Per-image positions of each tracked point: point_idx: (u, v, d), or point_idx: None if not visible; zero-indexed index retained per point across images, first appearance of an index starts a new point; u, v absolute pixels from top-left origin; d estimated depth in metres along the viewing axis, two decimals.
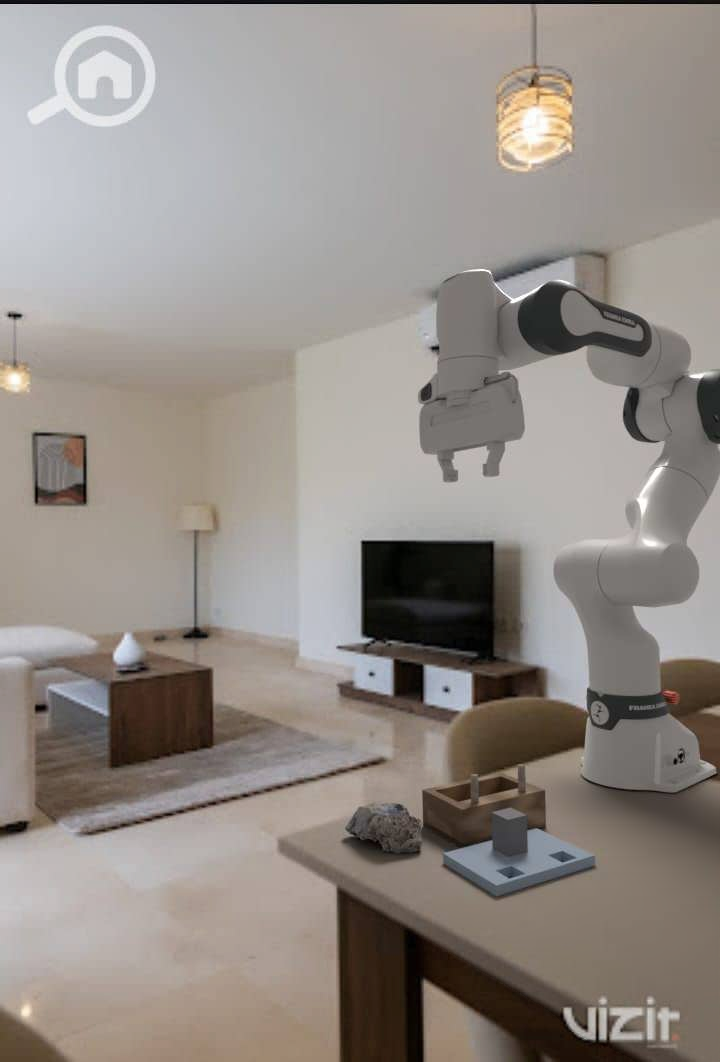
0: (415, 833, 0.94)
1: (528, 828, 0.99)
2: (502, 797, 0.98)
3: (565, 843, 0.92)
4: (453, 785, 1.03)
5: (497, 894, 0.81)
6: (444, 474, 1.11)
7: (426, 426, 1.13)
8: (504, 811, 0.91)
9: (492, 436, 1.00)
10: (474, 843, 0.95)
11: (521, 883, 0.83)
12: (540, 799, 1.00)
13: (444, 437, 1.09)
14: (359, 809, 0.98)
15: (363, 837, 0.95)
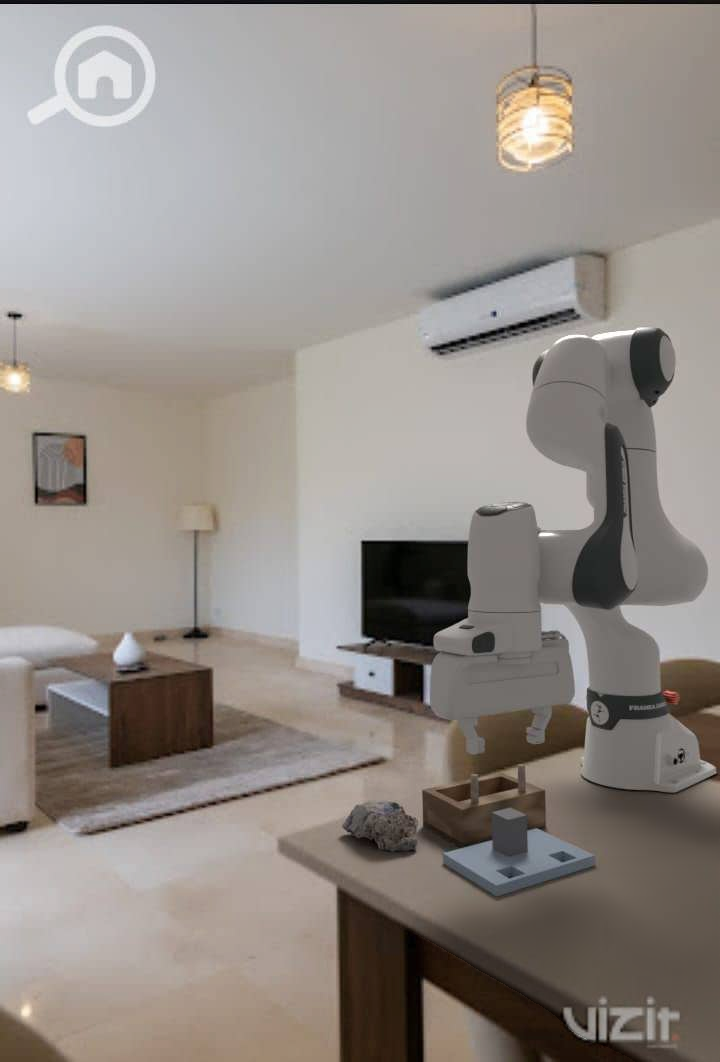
0: (410, 832, 0.94)
1: (528, 828, 0.99)
2: (502, 797, 0.98)
3: (565, 843, 0.92)
4: (453, 785, 1.03)
5: (497, 894, 0.81)
6: (478, 745, 0.87)
7: (462, 684, 0.85)
8: (504, 811, 0.91)
9: (560, 701, 0.93)
10: (474, 843, 0.95)
11: (521, 883, 0.83)
12: (540, 799, 1.00)
13: (492, 699, 0.88)
14: (356, 807, 0.99)
15: (359, 835, 0.95)
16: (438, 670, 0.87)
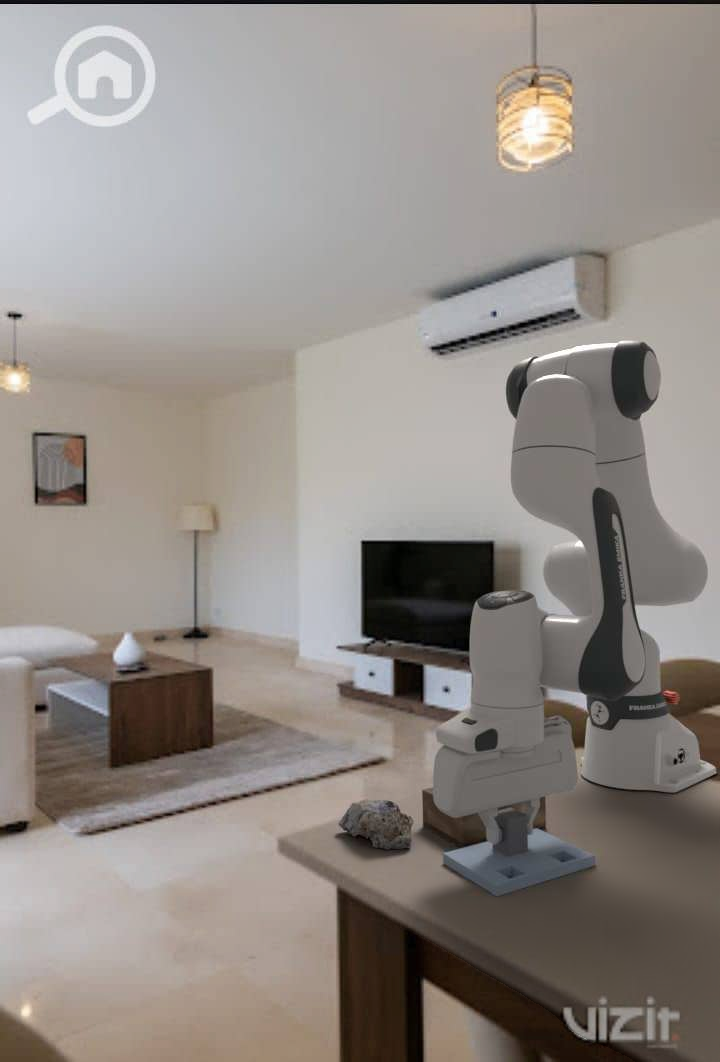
0: (405, 830, 0.95)
1: None
2: None
3: (565, 843, 0.92)
4: None
5: (497, 894, 0.81)
6: (498, 835, 0.89)
7: (465, 781, 0.85)
8: (504, 811, 0.91)
9: (563, 789, 0.93)
10: (474, 843, 0.95)
11: (521, 883, 0.83)
12: (540, 799, 1.00)
13: (496, 794, 0.88)
14: (352, 805, 0.99)
15: (354, 833, 0.96)
16: (441, 766, 0.87)
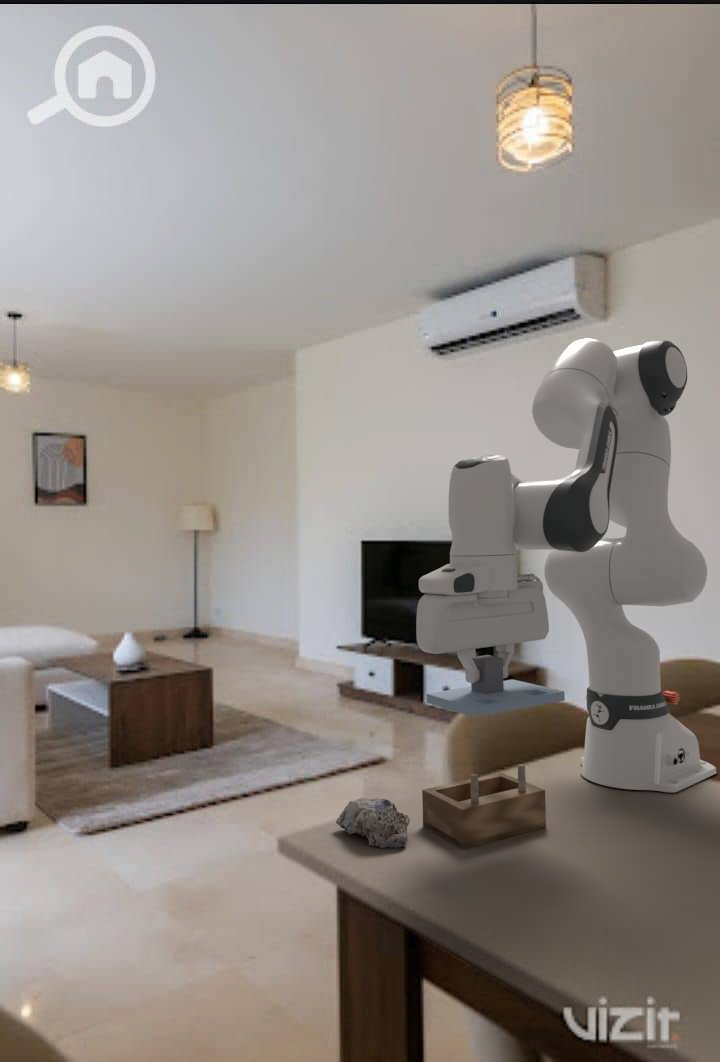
0: (400, 829, 0.95)
1: (528, 828, 0.99)
2: (502, 797, 0.98)
3: (538, 686, 1.01)
4: (453, 785, 1.03)
5: (475, 716, 0.90)
6: (476, 674, 0.97)
7: (445, 621, 0.94)
8: (482, 656, 1.00)
9: (535, 637, 1.01)
10: (474, 843, 0.95)
11: (497, 709, 0.92)
12: (540, 799, 1.00)
13: (473, 635, 0.96)
14: (349, 803, 1.00)
15: (350, 831, 0.97)
16: (423, 609, 0.95)
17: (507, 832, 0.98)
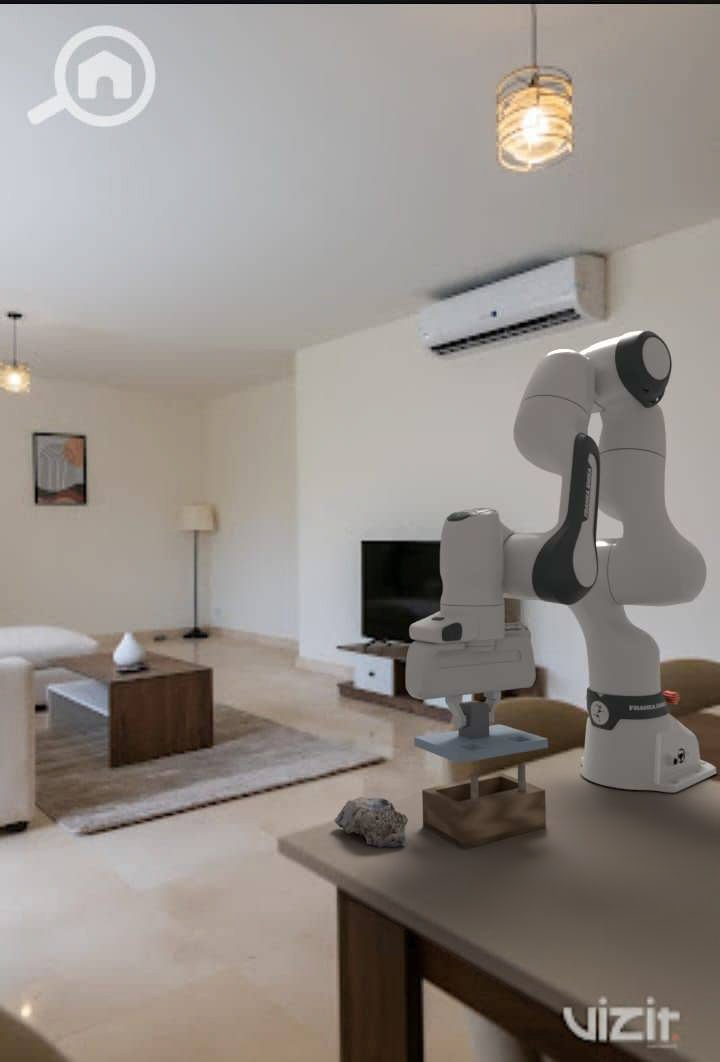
0: (398, 828, 0.95)
1: (528, 828, 0.99)
2: (502, 797, 0.98)
3: (523, 732, 1.04)
4: (453, 785, 1.03)
5: (459, 761, 0.93)
6: (462, 720, 1.01)
7: (433, 668, 0.97)
8: (469, 702, 1.03)
9: (522, 685, 1.05)
10: (474, 843, 0.95)
11: (480, 755, 0.95)
12: (540, 799, 1.00)
13: (460, 682, 1.00)
14: (348, 803, 1.01)
15: (348, 830, 0.97)
16: (412, 656, 0.99)
17: (507, 832, 0.98)
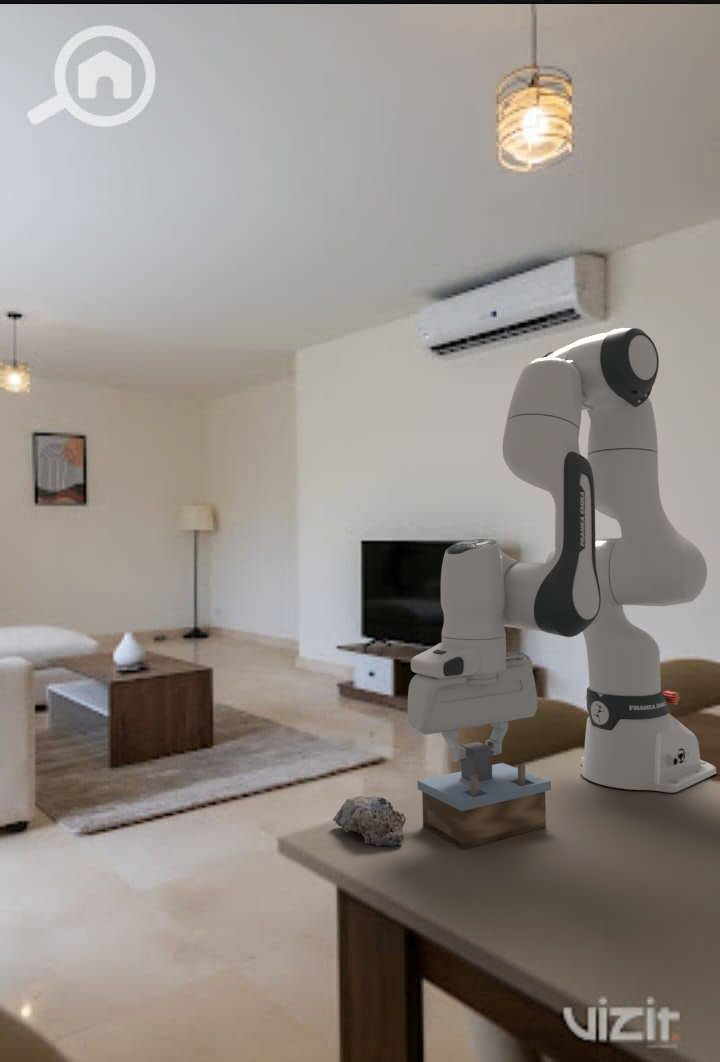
0: (396, 827, 0.96)
1: (528, 828, 0.99)
2: None
3: (526, 773, 1.04)
4: None
5: (462, 809, 0.94)
6: (459, 753, 1.00)
7: (435, 703, 0.97)
8: (472, 744, 1.04)
9: (524, 715, 1.05)
10: (474, 843, 0.95)
11: (483, 801, 0.95)
12: (540, 799, 1.00)
13: (463, 715, 1.00)
14: (346, 801, 1.01)
15: (347, 828, 0.98)
16: (414, 690, 0.99)
17: (507, 832, 0.98)
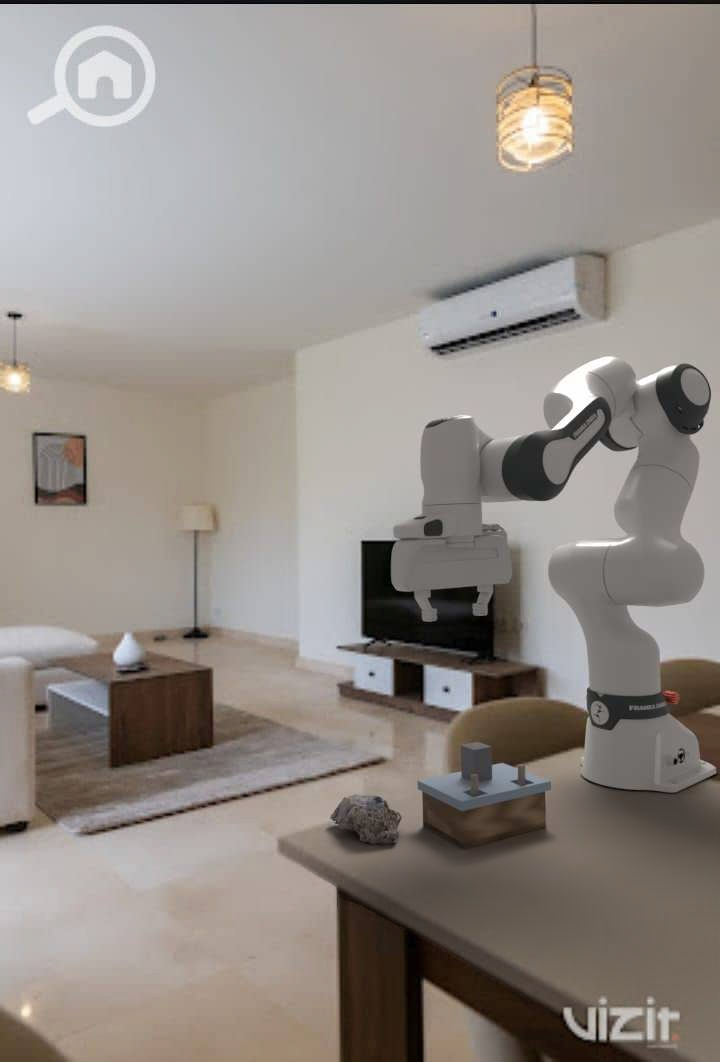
0: (391, 825, 0.96)
1: (528, 828, 0.99)
2: None
3: (526, 773, 1.04)
4: None
5: (462, 809, 0.94)
6: (431, 613, 1.07)
7: (416, 562, 1.04)
8: (472, 744, 1.04)
9: (500, 580, 1.12)
10: (474, 843, 0.95)
11: (483, 801, 0.95)
12: (540, 799, 1.00)
13: (442, 576, 1.07)
14: (343, 800, 1.02)
15: (342, 826, 0.99)
16: (397, 552, 1.06)
17: (507, 832, 0.98)
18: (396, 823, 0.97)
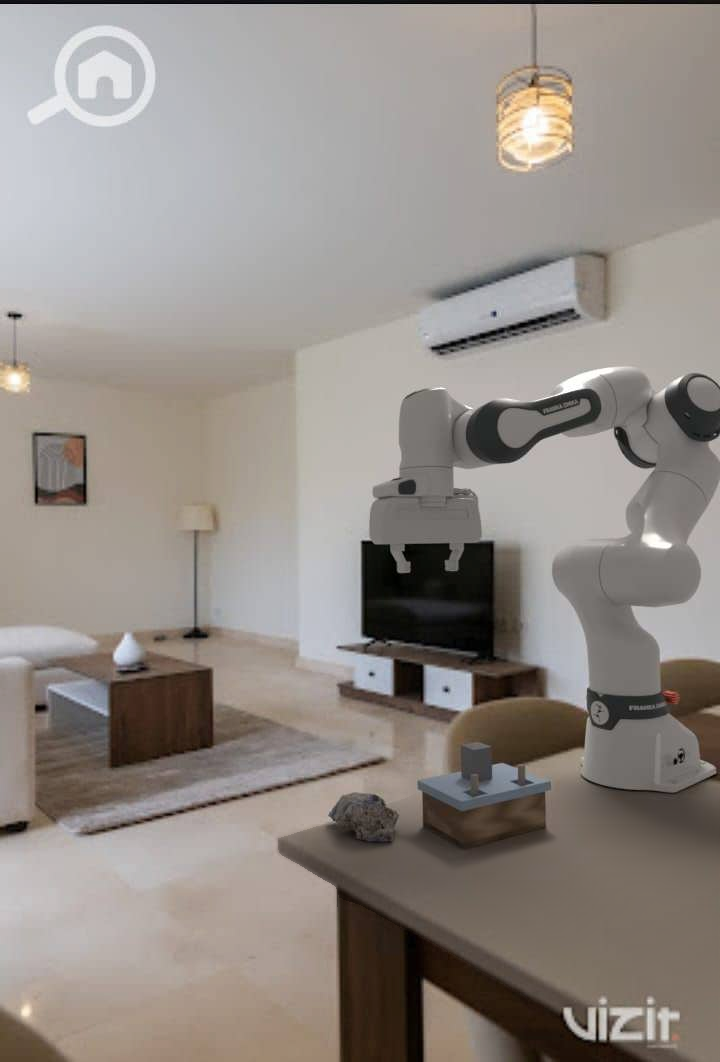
0: (387, 824, 0.97)
1: (528, 828, 0.99)
2: None
3: (526, 773, 1.04)
4: None
5: (462, 809, 0.94)
6: (405, 565, 1.18)
7: (391, 517, 1.16)
8: (472, 744, 1.04)
9: (470, 539, 1.23)
10: (474, 843, 0.95)
11: (483, 801, 0.95)
12: (540, 799, 1.00)
13: (415, 532, 1.18)
14: (341, 798, 1.03)
15: (340, 824, 0.99)
16: (374, 509, 1.17)
17: (507, 832, 0.98)
18: (393, 821, 0.98)
